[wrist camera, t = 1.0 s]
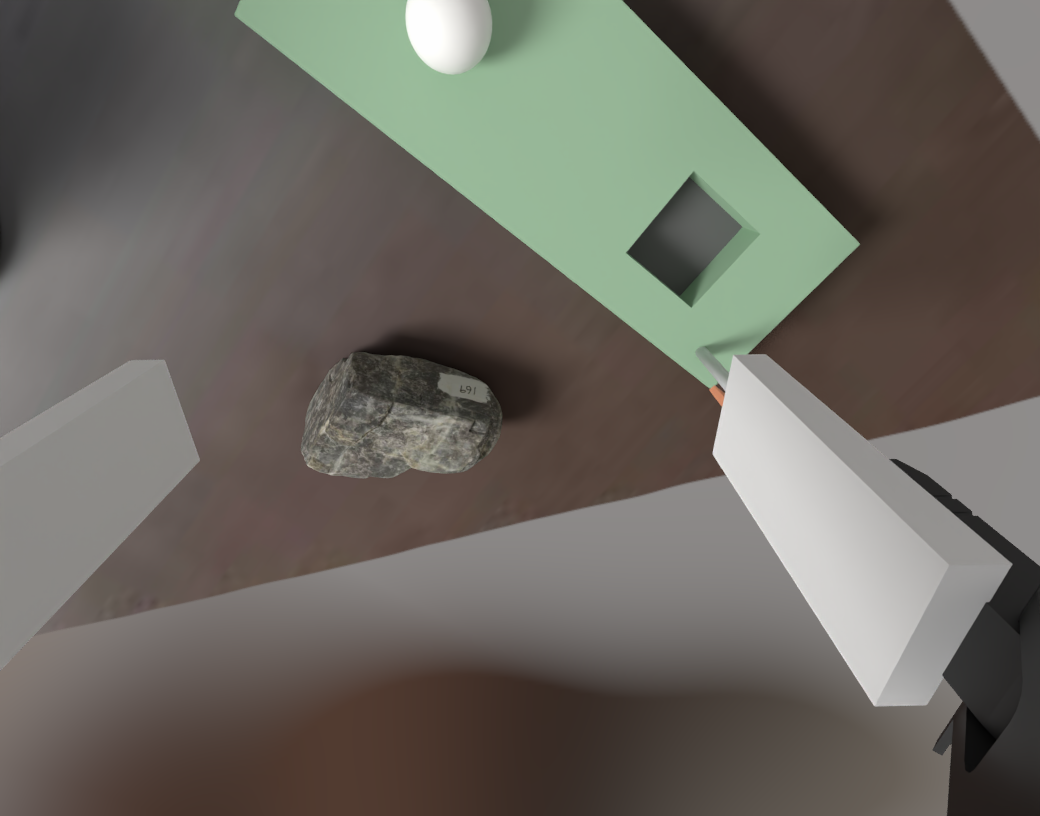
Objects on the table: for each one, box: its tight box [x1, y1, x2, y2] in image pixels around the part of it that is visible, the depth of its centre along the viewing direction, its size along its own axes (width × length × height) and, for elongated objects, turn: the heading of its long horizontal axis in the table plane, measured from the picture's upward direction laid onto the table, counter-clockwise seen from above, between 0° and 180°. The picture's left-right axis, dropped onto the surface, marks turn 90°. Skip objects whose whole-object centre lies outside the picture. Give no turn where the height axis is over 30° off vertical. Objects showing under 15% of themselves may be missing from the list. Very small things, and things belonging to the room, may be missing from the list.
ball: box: [405, 0, 492, 75], centre depth 24 cm, size 4×4×4 cm
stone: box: [299, 352, 502, 479], centre depth 36 cm, size 14×7×10 cm, turn 90°
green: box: [234, 0, 860, 406], centre depth 23 cm, size 34×12×17 cm, turn 53°
